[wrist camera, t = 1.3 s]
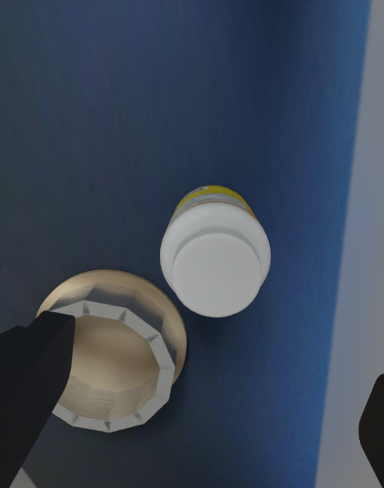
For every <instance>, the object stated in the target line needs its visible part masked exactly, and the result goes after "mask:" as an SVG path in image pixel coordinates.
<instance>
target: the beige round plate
mask: <svg viewBox="0 0 384 488" xmlns="http://www.w3.org/2000/svg"><path fill="white" fill-rule="evenodd" d="M95 282H103V283H109V284H114V285H119V286H125V287H130V288H136V289H137V290H138V291H140V292H141V293H142V294H144V295H145V296H146V297H147V298H149V299H150V300H151V301H153V302H154V303H155V304H157V305H158V306H159V307H160V308H162V309H163V310H164V311H165V312H166V314H167V316H168V318H169V321H170V323H171V326H172V328H173V330H174V333H175V335H176V338H177V340H178V342H179V343H178V350H177V357H176V365H175V371H174V376H173V381H172V385H173V383H174V382H175V381H176V379H177V378H178V376H179V375H180V372H181V370H182V368H183V365H184V361H185V356H186V347H187V334H186V328H185V324H184V321H183V318H182V316H181V314H180V312H179V310H178V308H177V307H176V305H175V304H174V302H173V301H172V300H171V299H170V298H169V296H168V295H167V294H166V293H165V292H164V291H162V290H161V289H160V288H159V287H158V286H156V285H155V284H153V283H152V282H150V281H148V280H146V279H144V278H143V277H140V276H138V275H135V274H132V273H129V272H125V271H120V270H112V269H100V270H92V271H87V272H83V273H80V274H78V275H75V276H73V277H71V278H69V279H68V280H66V281H64V282H63V283H62V284H60V285H59V286H58V287H57V288H56V289H55V290H54V291H53V292H52V293H51V294H50V295H49V296H48V297H47V298H46V299H45V301H44V302H43V304H42V305H41V307H40V309H39V311H38V313H37V315H36V318H37V317H38V315H39V314H40V313H41V312H43V311H44V310H47V311H48V309H49V308H50V307H51V306H52V305H53V304H54V303H55V302H56V301H57V300H58V299H59V297H60V296H61V295H62V294H63V293H64V292H67V291H71V290H74V289H77V288H80V287H83V286H86V285H89V284H92V283H95ZM75 321H76V323H75V335H74V345H73V356H72V366H71V372H70V374H71V375H73V376H74V377H76V378H77V379H79V380H80V381H82V382H83V383H84V384H86V385H87V386H89V387H91V388H96V389H102V390H107V391H113V392H120V391H124V390H128V389H131V388H135V387H139V386H142V385H144V384H145V383H146V382H147V381H148V380H149V379H150V378H151V377H152V376H153V375H154V374H155V373H156V372H157V371H158V370H159V369H160V367H159V364H158V362H157V360H156V358H155V356H154V353H153V351H152V349H151V347H150V344H149V342H148V340H146V339H145V338H144V337H142V336H141V335H139V334H138V333H137V332H135V331H134V330H133V329H131V328H130V327H129V326H127V325H126V324H125V323H123V322H122V321H120V320H115V319H109V318H104V317H98V316H93V315H87V314H86V315H83V316H80V317H77V318H75Z"/></svg>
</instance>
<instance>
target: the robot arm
mask: <svg viewBox="0 0 384 488" xmlns="http://www.w3.org/2000/svg"><path fill="white" fill-rule="evenodd" d="M75 323H76V321H75V316H73V315H68V314H63V313H58V312H52V311H47V310H44V311H43V312H41V313H40V314H39V315H38V317H37V318H36V319H35V320H34V321H33V322H32V323H31V324H30V325H29V326H28V327H21V326H16V327H14V328H12V329H10V330H8V331H6V332H4V333H1V334H0V488H9V487H10V485H11V484H12V482H13V480H14V478H15V477H16V475H17V473H18V471H19V470H20V468H21V466H22V464H23V463H24V461H25V459H26V457H27V455H28V454H29V452H30V450H31V448H32V447H33V445H34V443H35V441H36V440H37V438H38V436H39V434H40V433H41V431H42V429H43V427H44V426H45V424H46V422H47V420H48V419H49V417H50V415H51V413H52V411H53V410H54V408H55V406H56V404H57V403H58V401H59V399H60V397H61V396H62V394H63V392H64V390H65V388H66V385H67V383H68V379H69V376H70V372H71V366H72V356H73V345H74V335H75ZM359 439H360V443H361V446H362V448H363V450H364V452H365V454H366V456H367V458H368V460H369V462H370V464H371V466H372V468H373V470H374V472H375V474H376V476H377V478H378V480H379V482H380V484H381V486H382V488H384V374H381V375H380V376H379V377H378V378H377V380H376V382H375V384H374V387H373V390H372V392H371V394H370V397H369V399H368V401H367V404H366V407H365V409H364V411H363V414H362V416H361V419H360V422H359Z"/></svg>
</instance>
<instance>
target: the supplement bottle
mask: <svg viewBox="0 0 384 488" xmlns="http://www.w3.org/2000/svg"><path fill="white" fill-rule="evenodd" d="M270 260H271V252H270V245H269V241H268V238H267V236H266V234H265V232H264V230H263V228H262V226H261V225H260V223H259V222H258V220H257V218H256V216H255V215H254V214H253V212H252V210H251V209H250V207H249V206H248V204H247V203H246V201H245V200H244V199H243V197H241V196H240V195H239V194H238V193H237V192H235V191H234V190H232V189H230V188H227V187H225V186H221V185H205V186H201V187H198V188H196V189H194V190H192V191H191V192H189V193H188V194H187V195H186V196H184V197H183V199H182V200H181V201H180V202H179V204H178V206H177V208H176V210H175V212H174V214H173V216H172V218H171V221H170V223H169V225H168V227H167V230H166V232H165V235H164V237H163V240H162V244H161V250H160V263H161V268H162V271H163V274H164V277H165V279H166V281H167V283H168V284H169V286H170V287H171V288H172V290H173V291H174V292H175V293H176V294H177V296H178V298H179V299H180V300H181V302H182V303H183V304H184V305H185V306H186V307H188V308H189V309H190V310H192V311H194V312H196V313H198V314H200V315H204V316H208V317H225V316H230V315H233V314H235V313H238V312H240V311H241V310H243V309H244V308H246V307H247V306H248V305H249V304H250V303H251V302H252V301H253V300H254V298H255V297H256V295H257V293H258V291H259V289H260V287H261V285H262V284H263V282H264V280H265V278H266V276H267V274H268V271H269V267H270Z"/></svg>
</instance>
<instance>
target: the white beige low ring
mask: <svg viewBox="0 0 384 488" xmlns="http://www.w3.org/2000/svg"><path fill="white" fill-rule="evenodd" d="M48 311H52V312H58V313H63V314H68V315H73V316H75V318H77V317H80V316H83V315H86V314H87V315H93V316H98V317H104V318H109V319H115V320H120V321H122V322H123V323H125V324H126V325H127V326H129V327H130V328H131V329H133V330H134V331H135V332H137V333H138V334H139V335H141V336H142V337H144V338H145V339H146V340H148V342H149V344H150V347H151V349H152V351H153V353H154V356H155V358H156V360H157V362H158V364H159V367H160V369H159V370H158V371H157V372H156V373H155V374H154V375H153V376H152V377H151V378H150V379H149V380H148V381H147V382H146V383H145V384H144V385H142V386H139V387H135V388H131V389H128V390H124V391H120V392H113V391H107V390H102V389H96V388H91V387H89V386H87V385H86V384H84V383H83V382H82V381H80V380H79V379H77V378H76V377H74V376H73V375H71V374H70V376H69V379H68V383H67V385H66V388H65V390H64V392H63V394H62V396H61V397H60V399H59V401H58V403H57V404H56V406H55V408H54V410H53V411H52V413H53V414H55V415H56V416H58V417H60V418H61V419H63V420H64V421H66V422H67V423H69V424H70V425H72V426H76V427H82V428H87V429H93V430H98V431H104V432H113V431H117V430H121V429H125V428H129V427H133V426H137V425H141V424H144V423H145V422H146V421H148V420H149V419H150V418H151V417H152V416H153V415H154V414H155V413H156V412H157V411H158V410H159V409H160V408H161V407H162V406H163V405H164V404H165V403H166V402H167V401H168V400H169V396H170V391H171V386H172V381H173V376H174V371H175V365H176V357H177V350H178V343H179V342H178V340H177V338H176V335H175V333H174V330H173V328H172V326H171V323H170V321H169V318H168V316H167V314H166V312H165V311H164V310H163V309H162V308H160V307H159V306H158V305H157V304H155V303H154V302H153V301H151V300H150V299H149V298H147V297H146V296H145V295H144V294H142V293H141V292H140V291H138V290H137V289H136V288H130V287H125V286H119V285H114V284H109V283H103V282H95V283H92V284H89V285H86V286H83V287H80V288H77V289H74V290H71V291H67V292H64V293H63V294H62V295H61V296H60V297H59V299H58V300H57V301H56V302H55V303H54V304H53V305H52V306H51V307H50V308H49V309H48Z"/></svg>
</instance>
